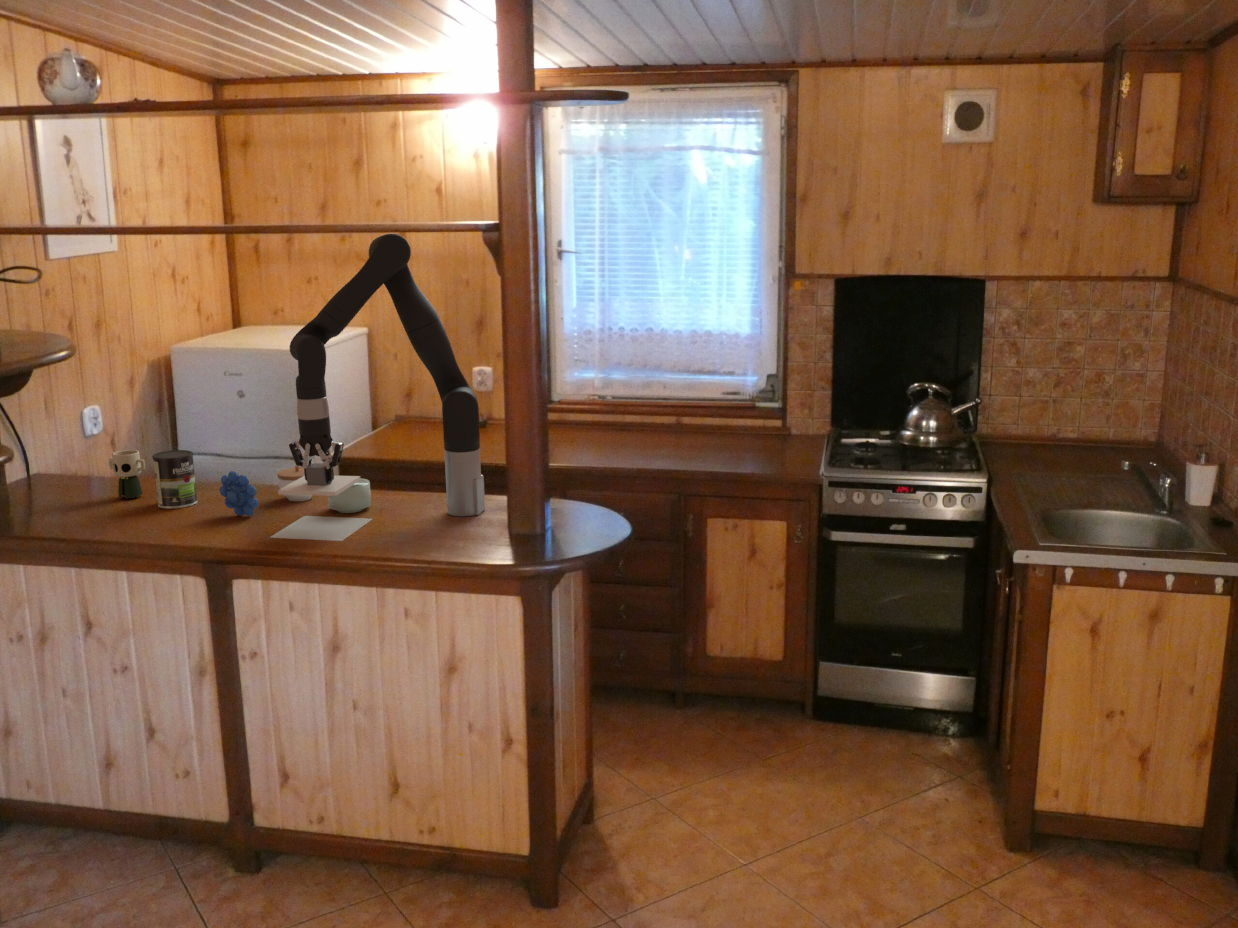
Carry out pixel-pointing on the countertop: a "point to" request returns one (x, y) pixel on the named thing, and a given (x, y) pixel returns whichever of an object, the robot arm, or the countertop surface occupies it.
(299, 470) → the lidded jar
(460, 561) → the countertop surface
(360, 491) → the bowl
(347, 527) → the mat
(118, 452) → the character mug
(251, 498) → the grapes
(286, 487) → the lid
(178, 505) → the coffee can
